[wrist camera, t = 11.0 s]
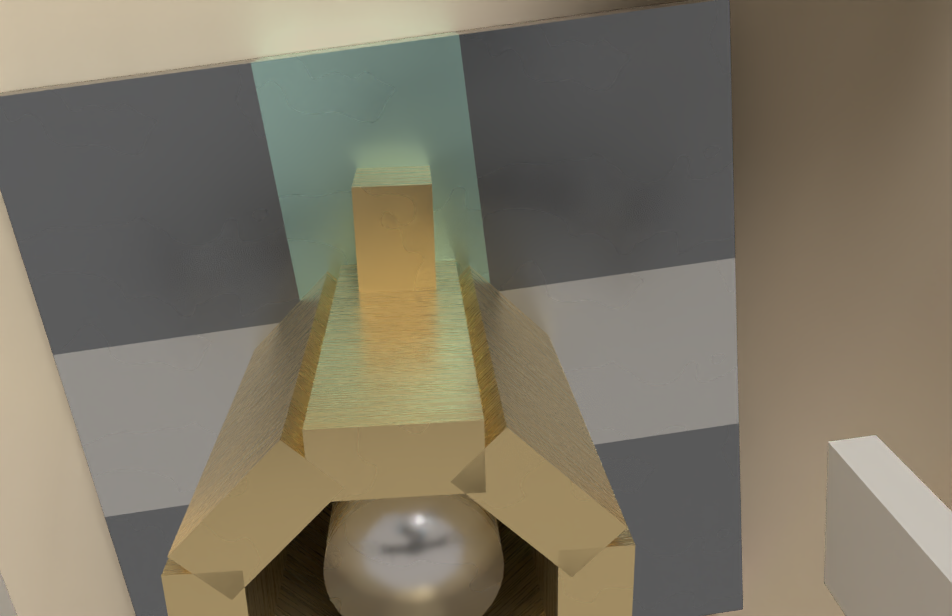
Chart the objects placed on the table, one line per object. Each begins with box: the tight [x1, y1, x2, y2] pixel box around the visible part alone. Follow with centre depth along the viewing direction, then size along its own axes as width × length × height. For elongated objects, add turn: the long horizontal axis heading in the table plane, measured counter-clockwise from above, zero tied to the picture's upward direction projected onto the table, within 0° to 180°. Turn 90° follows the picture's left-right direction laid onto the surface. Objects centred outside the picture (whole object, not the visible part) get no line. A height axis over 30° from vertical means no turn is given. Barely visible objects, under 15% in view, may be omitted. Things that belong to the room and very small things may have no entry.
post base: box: [0, 0, 743, 616], centre depth 19 cm, size 16×16×8 cm
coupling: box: [161, 166, 635, 616], centre depth 18 cm, size 12×7×8 cm, turn 2°
